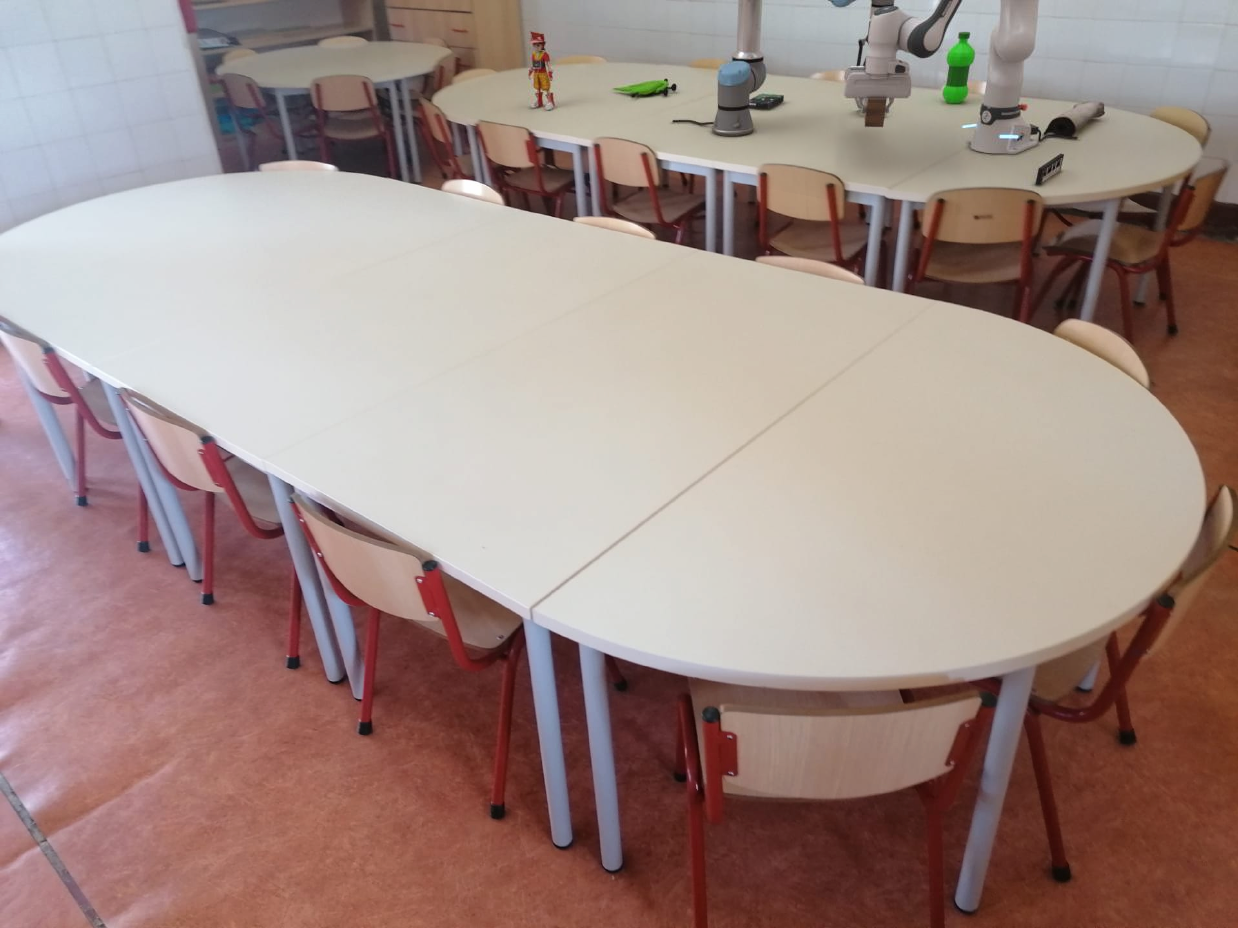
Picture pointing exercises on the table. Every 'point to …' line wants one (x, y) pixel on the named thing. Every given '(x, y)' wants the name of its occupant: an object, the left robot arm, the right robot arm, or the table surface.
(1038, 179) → the midi keyboard
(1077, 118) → the rolled mat
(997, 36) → the right robot arm
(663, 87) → the toy
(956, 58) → the plastic bottle
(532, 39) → the toy
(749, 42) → the left robot arm
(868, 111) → the post
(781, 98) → the disk drive
